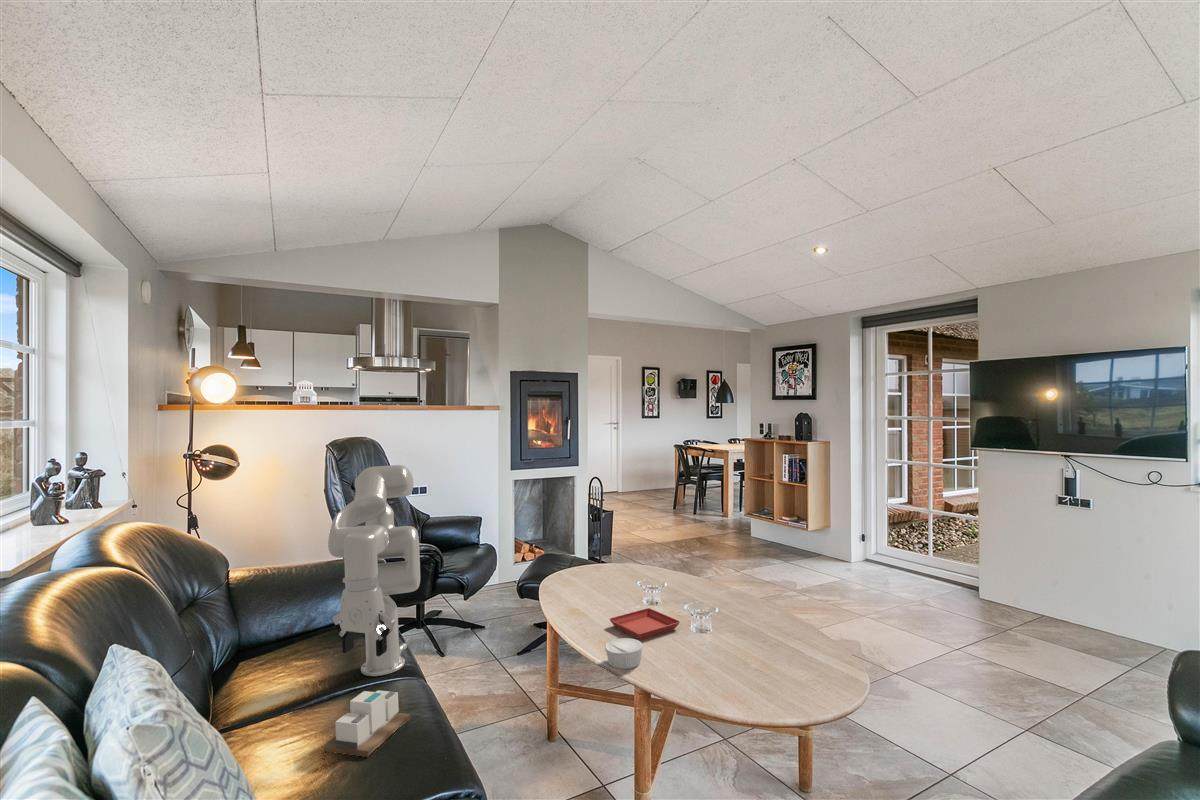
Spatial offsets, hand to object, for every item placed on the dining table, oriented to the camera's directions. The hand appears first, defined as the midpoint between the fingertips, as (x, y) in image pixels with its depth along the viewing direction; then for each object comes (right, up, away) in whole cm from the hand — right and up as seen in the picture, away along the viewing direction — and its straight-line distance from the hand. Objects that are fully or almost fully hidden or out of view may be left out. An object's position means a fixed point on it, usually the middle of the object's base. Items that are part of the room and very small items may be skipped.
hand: (364, 652), depth 140 cm
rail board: (+2, -19, -3) cm, 19 cm away
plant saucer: (+74, -18, +57) cm, 95 cm away
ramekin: (+65, -17, +31) cm, 74 cm away
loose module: (+2, -17, -3) cm, 17 cm away
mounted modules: (+2, -17, -3) cm, 17 cm away
